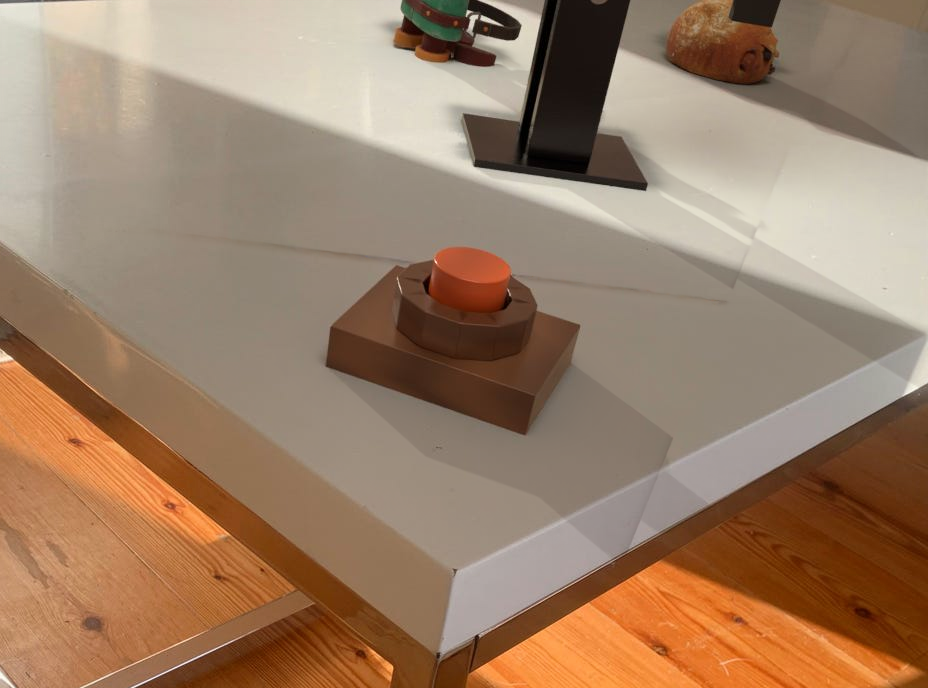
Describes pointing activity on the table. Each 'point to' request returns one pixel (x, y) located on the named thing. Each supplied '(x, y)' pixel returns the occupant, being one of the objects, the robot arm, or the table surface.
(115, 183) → the table surface
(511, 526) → the table surface
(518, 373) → the button block
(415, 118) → the table surface
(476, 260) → the button
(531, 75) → the bracket
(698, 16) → the bread roll
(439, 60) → the binoculars
